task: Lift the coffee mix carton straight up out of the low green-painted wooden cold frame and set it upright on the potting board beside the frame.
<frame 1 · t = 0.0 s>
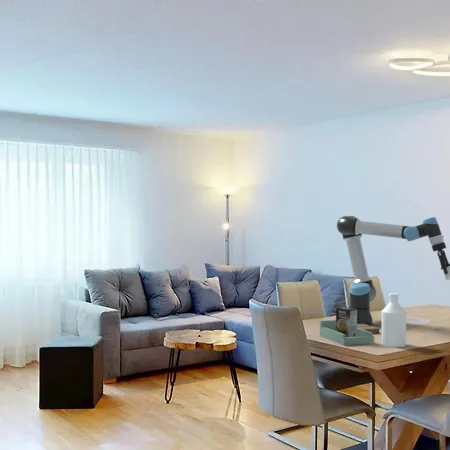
hand: (449, 278, 341), 28 cm above the table, tool tilted 20°, fingers open, 13 cm apart
cold frame: (346, 339, 303), on the table
coffee box: (346, 339, 303), resting in cold frame
potting board: (358, 331, 325), on the table
bottle: (393, 344, 291), on the table
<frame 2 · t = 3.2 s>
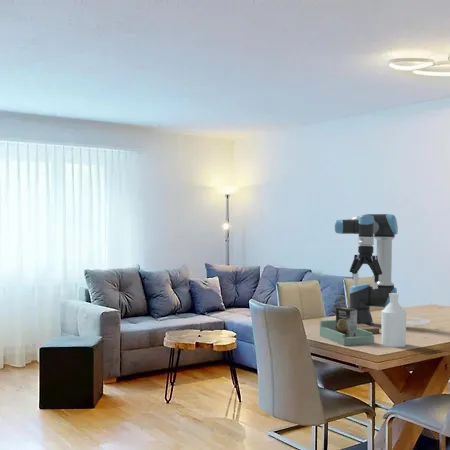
hand: (365, 287, 300), 27 cm above the table, tool pointing down, fingers open, 13 cm apart
nothing on the table moved.
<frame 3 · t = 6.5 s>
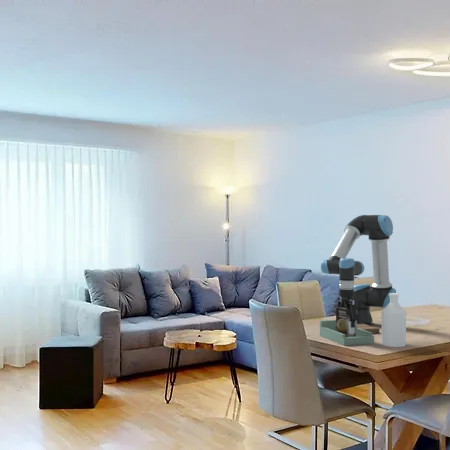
hand: (346, 331, 302), 4 cm above the table, tool pointing down, fingers closed on coffee box, 10 cm apart
coffee box: (346, 339, 302), resting in cold frame, touching gripper
everything else where it was.
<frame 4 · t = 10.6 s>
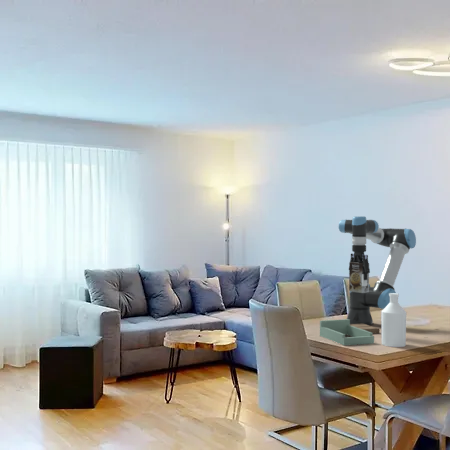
hand: (359, 284, 325), 26 cm above the table, tool pointing down, fingers closed on coffee box, 10 cm apart
coffee box: (358, 292, 325), point 22 cm above the table, touching gripper
everything else where it was.
when the fingers open (8 cm above the table, at t = 14.7 s): coffee box drops 1 cm, resting on potting board.
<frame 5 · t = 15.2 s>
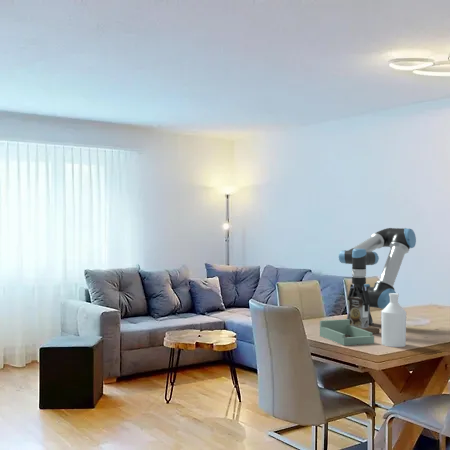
hand: (358, 315, 325), 9 cm above the table, tool pointing down, fingers open, 13 cm apart
coffee box: (358, 327, 325), point 2 cm above the table, touching potting board
everything else where it was.
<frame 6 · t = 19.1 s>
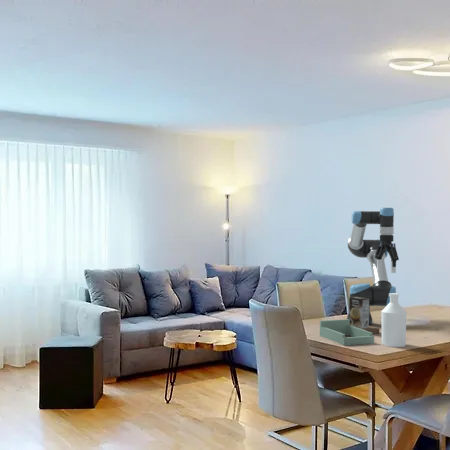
hand: (386, 271, 339), 32 cm above the table, tool pointing down, fingers open, 13 cm apart
nothing on the table moved.
at the end: coffee box inside the target area on the potting board (0.4 cm from its centre), point 2.3 cm above the potting board's base; coffee box tilted 0°; the gripper is holding nothing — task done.
